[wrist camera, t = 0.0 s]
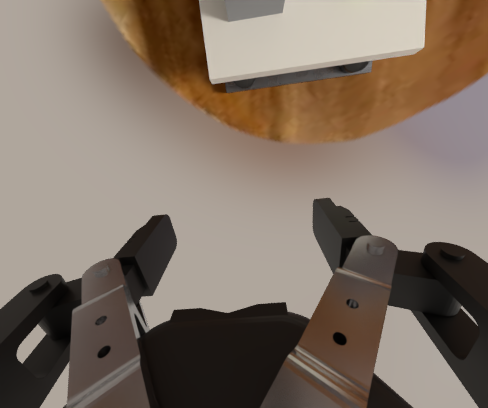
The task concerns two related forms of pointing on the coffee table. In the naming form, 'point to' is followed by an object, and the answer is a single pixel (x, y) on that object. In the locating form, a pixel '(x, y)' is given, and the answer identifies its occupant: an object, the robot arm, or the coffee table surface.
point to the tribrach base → (299, 77)
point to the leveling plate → (305, 34)
